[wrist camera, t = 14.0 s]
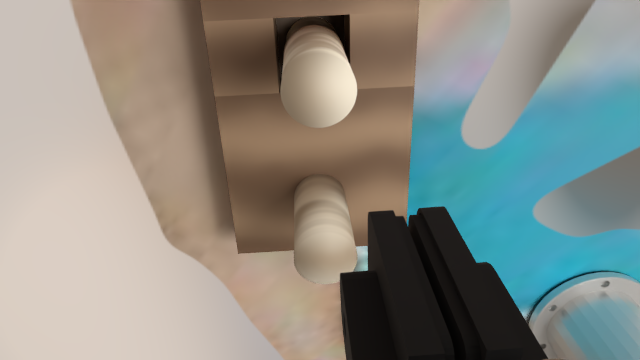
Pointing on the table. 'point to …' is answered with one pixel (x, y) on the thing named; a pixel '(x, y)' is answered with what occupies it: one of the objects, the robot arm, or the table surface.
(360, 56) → the brown block with hole
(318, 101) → the birch leg
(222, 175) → the table surface
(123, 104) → the table surface
